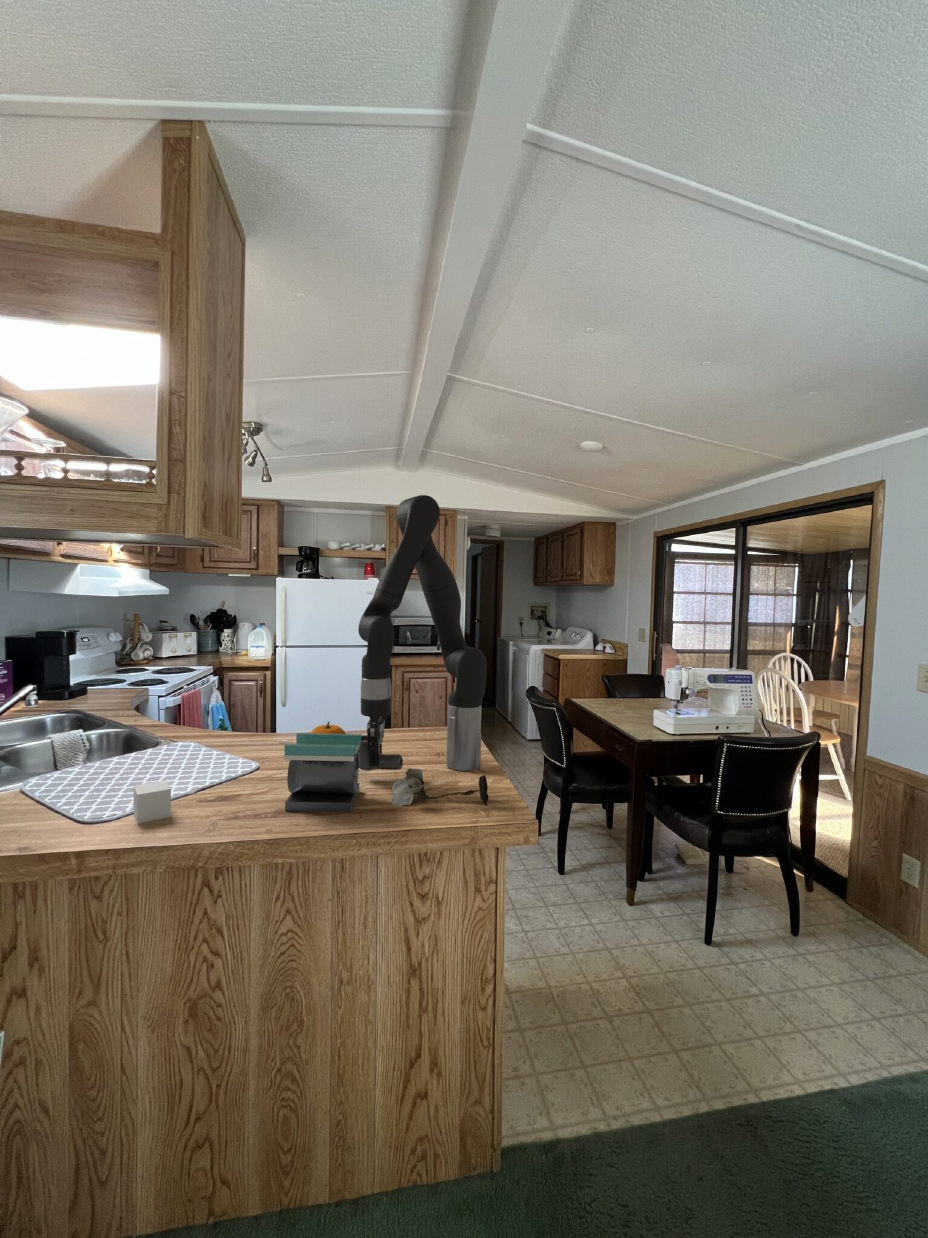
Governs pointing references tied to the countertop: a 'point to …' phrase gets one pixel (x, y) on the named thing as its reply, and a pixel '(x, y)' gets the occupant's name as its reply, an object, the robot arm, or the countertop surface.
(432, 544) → the robot arm
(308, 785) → the motor
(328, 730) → the fruit
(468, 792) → the artificial flower
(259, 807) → the countertop surface
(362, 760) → the pipe
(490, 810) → the countertop surface
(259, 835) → the countertop surface
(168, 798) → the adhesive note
